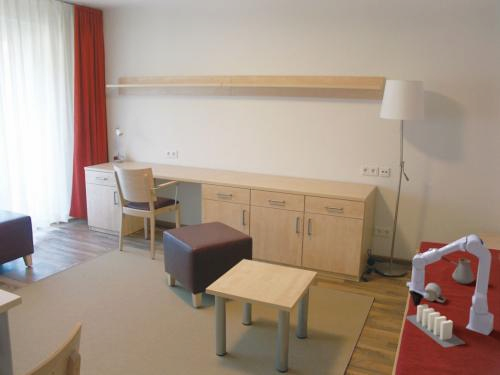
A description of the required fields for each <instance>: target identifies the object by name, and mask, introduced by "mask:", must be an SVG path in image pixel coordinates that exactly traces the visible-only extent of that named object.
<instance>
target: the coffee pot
mask: <svg viewBox="0 0 500 375" xmlns="http://www.w3.org/2000/svg"><path fill="white" fill-rule="evenodd" d="M441 259H442V260H444V261H446V262H449V263H452V265H456V268H455V270H454V271H453V273H452V278H453V280H454V281H455V282H456V283H457V284H460V285H469V284H471V283H473V282H474V280H475V276H474V273H473V271H472V268H471V265H470V263H471V262H472V261H471V260H470V259H467V258H458V263H456V262H454V261H452V260H450V259H449V258H446V257H443V256H442V257H441Z"/></svg>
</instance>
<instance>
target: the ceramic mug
mask: <svg viewBox="0 0 500 375" xmlns="http://www.w3.org/2000/svg"><path fill="white" fill-rule="evenodd" d="M424 289H425V290H426V291H427V293H428V294H429V298H424V300H426V301H429V302H434V301H436V302H438V303H440V304H443V303H445V302H446V297H445V296H444V295H443V294H442V289H441V287H440V286H439V285H438V284H437V283H435V282H430V283H428V284H427V285H426V286H425V287H424ZM439 297H440V298H441V299H440V298H439Z"/></svg>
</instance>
